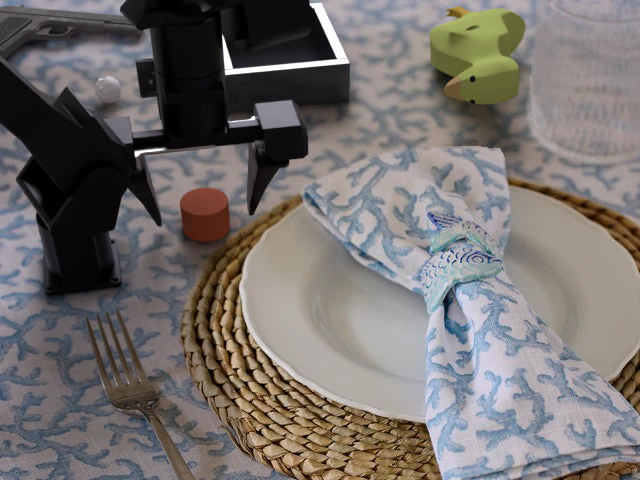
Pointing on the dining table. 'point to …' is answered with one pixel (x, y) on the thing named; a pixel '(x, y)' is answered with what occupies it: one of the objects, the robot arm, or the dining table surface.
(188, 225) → the stopper
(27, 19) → the pistol
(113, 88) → the white bumpy ball
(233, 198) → the dining table surface
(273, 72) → the dark grey open box
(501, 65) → the toy
